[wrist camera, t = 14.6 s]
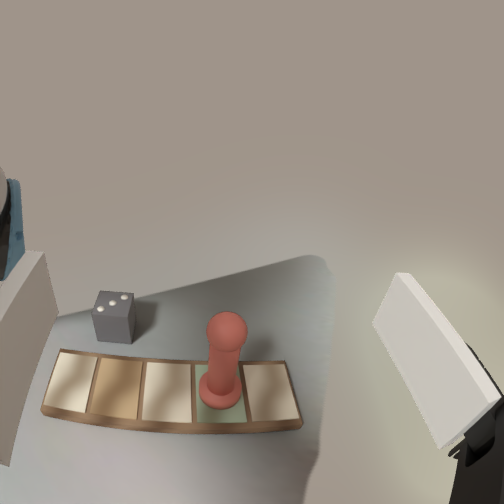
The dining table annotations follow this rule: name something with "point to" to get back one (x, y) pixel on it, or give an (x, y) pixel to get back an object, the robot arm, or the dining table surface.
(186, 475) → the dining table surface
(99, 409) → the board
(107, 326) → the die
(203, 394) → the pawn
